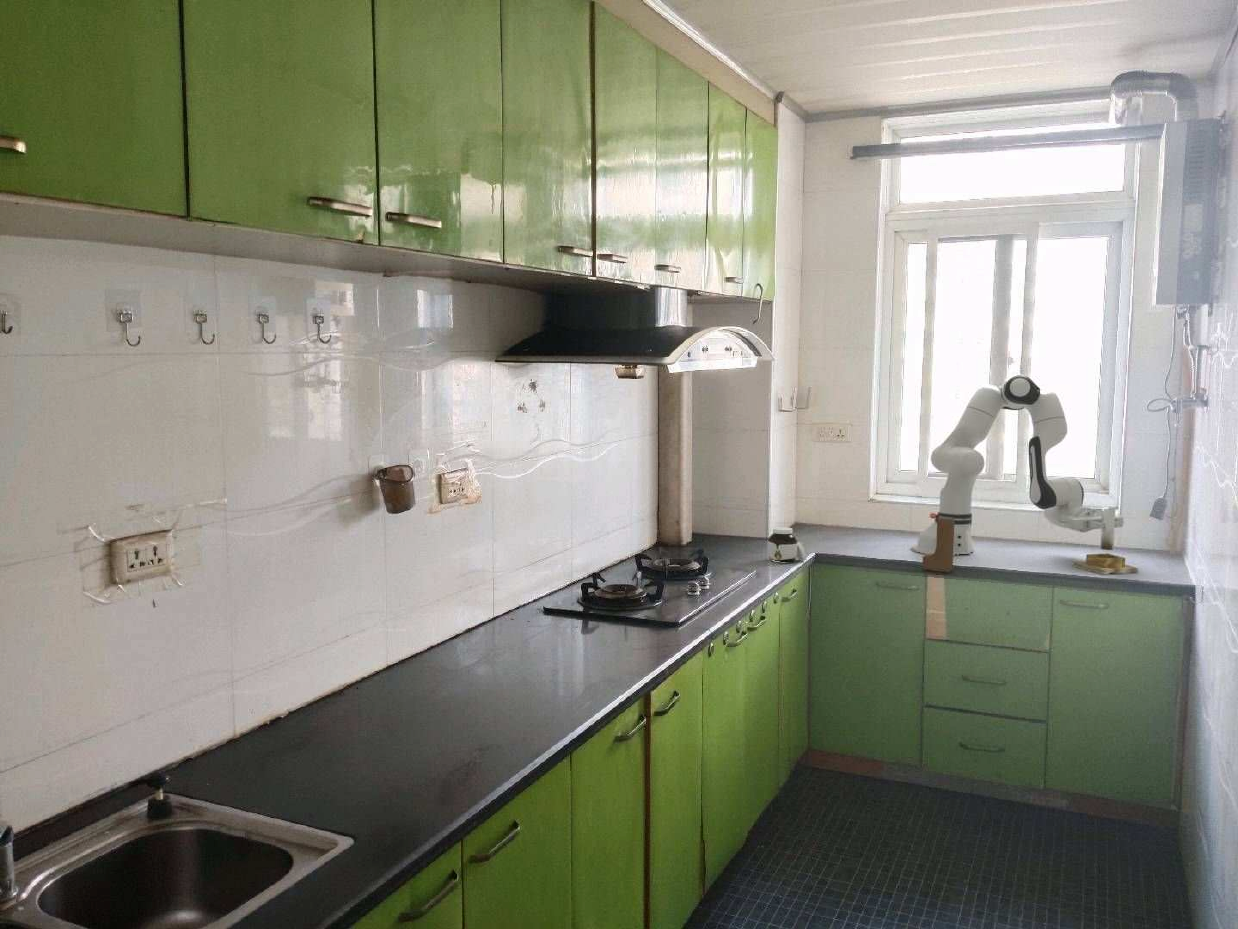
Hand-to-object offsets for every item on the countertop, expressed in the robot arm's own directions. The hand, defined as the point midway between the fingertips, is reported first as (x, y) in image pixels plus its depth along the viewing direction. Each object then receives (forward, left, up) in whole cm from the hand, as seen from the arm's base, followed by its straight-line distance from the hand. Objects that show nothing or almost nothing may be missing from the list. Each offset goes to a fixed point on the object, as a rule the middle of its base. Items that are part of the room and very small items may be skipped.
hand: (1109, 525), depth 335 cm
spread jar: (-99, +39, -15) cm, 108 cm away
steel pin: (0, +1, -8) cm, 8 cm away
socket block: (0, +1, -15) cm, 15 cm away
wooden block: (-56, +13, -15) cm, 60 cm away
